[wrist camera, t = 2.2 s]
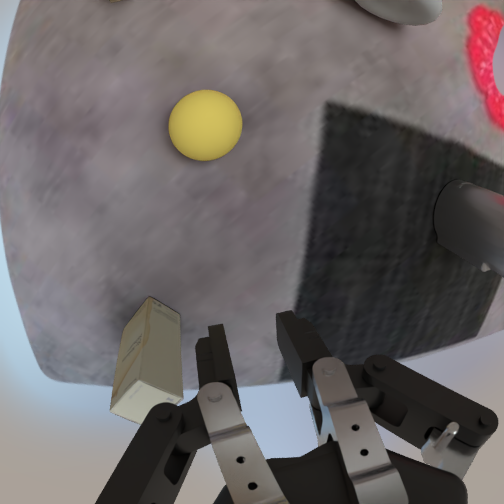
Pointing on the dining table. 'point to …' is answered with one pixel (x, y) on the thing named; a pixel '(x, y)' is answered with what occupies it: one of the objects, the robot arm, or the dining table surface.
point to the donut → (404, 10)
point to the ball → (205, 125)
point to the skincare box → (148, 362)
